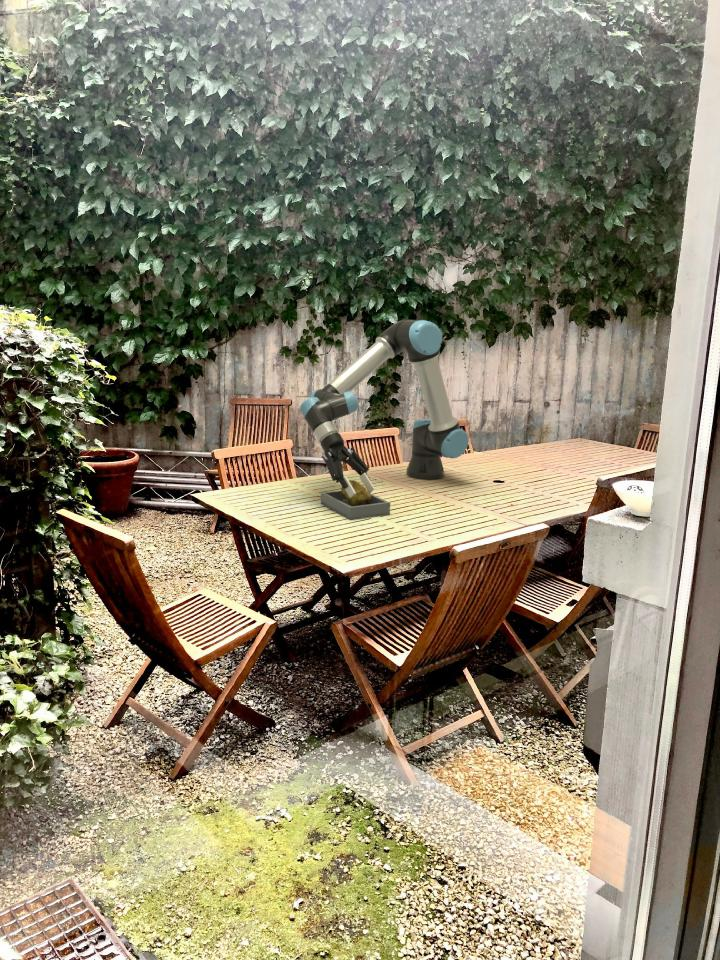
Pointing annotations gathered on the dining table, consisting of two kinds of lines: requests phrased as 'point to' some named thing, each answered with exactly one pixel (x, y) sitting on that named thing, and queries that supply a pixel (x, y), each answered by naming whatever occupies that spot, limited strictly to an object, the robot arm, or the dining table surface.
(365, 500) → the potato
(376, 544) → the dining table surface
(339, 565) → the dining table surface
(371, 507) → the tray
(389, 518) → the dining table surface
